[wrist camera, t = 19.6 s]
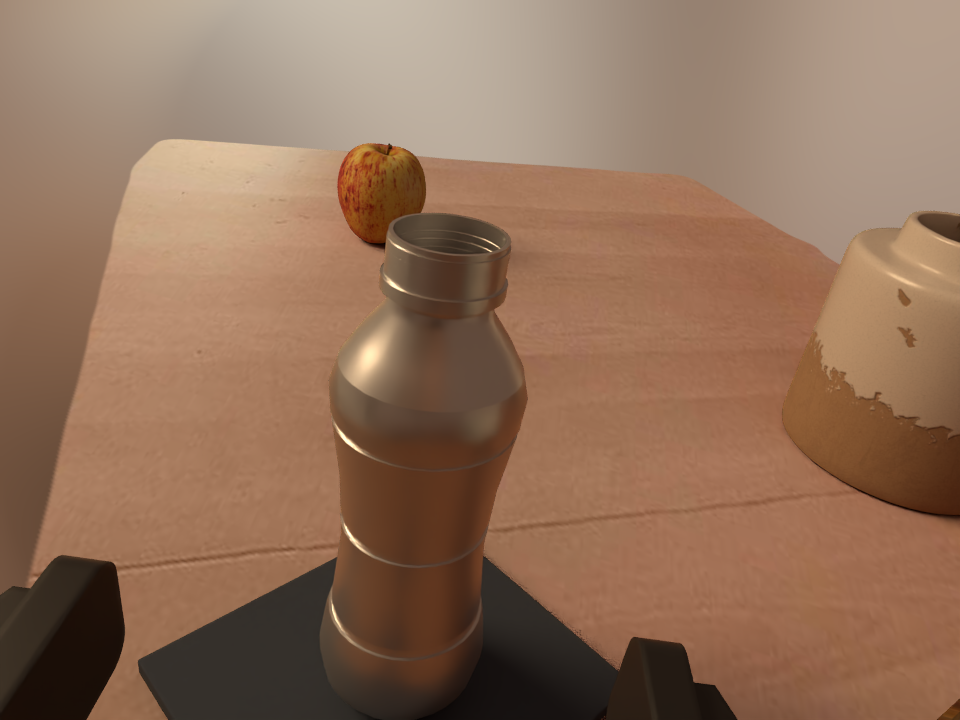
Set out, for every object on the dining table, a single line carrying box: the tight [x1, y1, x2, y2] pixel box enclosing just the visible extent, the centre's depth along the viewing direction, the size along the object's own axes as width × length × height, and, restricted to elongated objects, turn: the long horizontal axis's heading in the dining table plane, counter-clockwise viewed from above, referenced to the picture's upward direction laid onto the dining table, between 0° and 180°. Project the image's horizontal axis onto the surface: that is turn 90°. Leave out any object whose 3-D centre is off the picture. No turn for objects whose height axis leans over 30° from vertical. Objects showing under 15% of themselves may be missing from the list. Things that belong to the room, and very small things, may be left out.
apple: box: [338, 143, 426, 243], centre depth 75 cm, size 9×9×10 cm
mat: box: [138, 556, 618, 720], centre depth 32 cm, size 16×14×1 cm
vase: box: [782, 211, 960, 515], centre depth 50 cm, size 15×15×17 cm
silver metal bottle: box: [319, 213, 528, 720], centre depth 26 cm, size 6×7×20 cm
